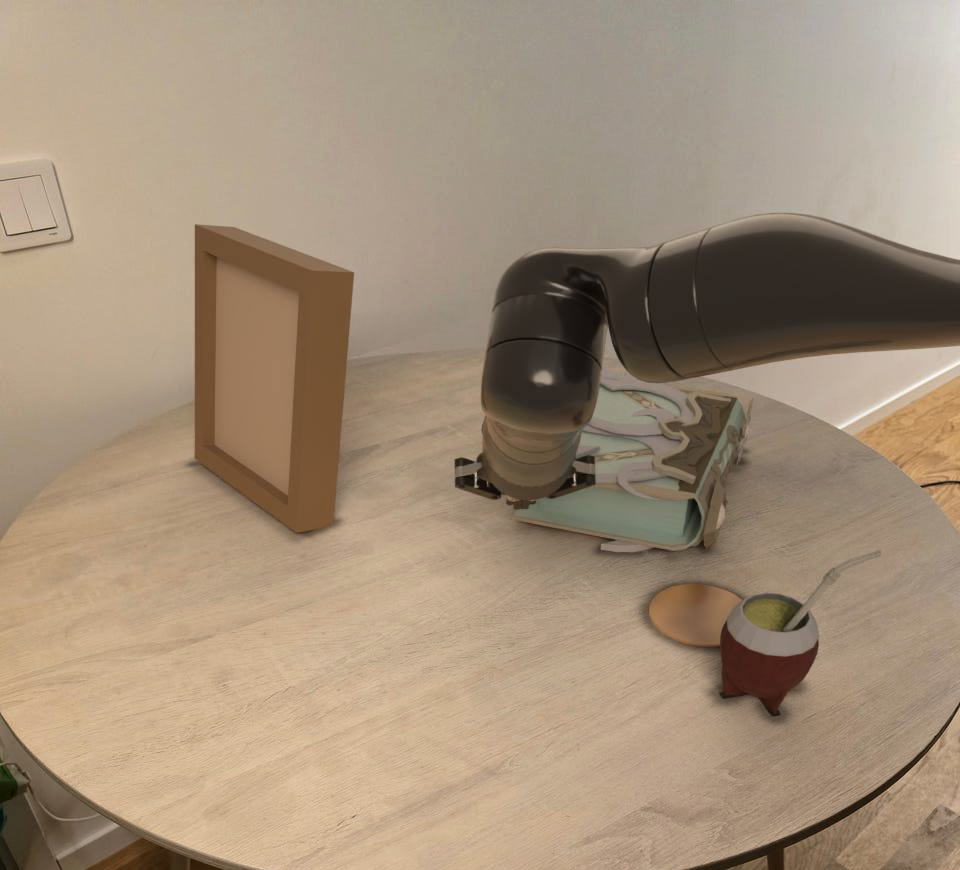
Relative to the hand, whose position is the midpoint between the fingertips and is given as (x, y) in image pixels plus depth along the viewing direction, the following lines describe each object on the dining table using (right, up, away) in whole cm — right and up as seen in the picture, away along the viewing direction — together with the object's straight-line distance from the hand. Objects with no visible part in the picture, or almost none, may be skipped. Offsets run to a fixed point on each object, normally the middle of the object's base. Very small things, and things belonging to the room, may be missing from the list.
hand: (520, 499), depth 87 cm
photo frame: (-24, +4, +13) cm, 27 cm away
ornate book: (+12, +3, +10) cm, 17 cm away
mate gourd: (+18, -18, -16) cm, 30 cm away
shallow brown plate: (+15, -12, -8) cm, 21 cm away
